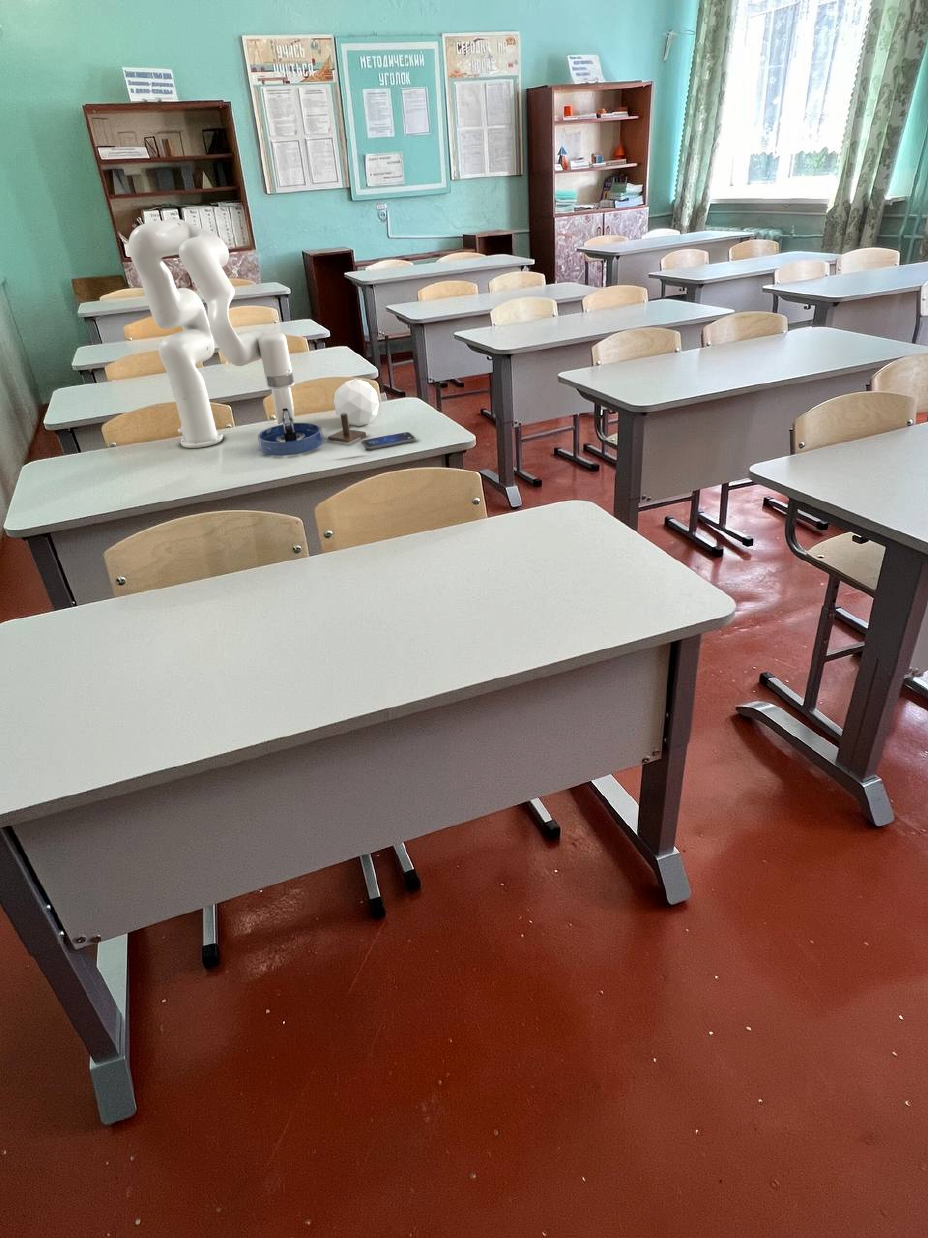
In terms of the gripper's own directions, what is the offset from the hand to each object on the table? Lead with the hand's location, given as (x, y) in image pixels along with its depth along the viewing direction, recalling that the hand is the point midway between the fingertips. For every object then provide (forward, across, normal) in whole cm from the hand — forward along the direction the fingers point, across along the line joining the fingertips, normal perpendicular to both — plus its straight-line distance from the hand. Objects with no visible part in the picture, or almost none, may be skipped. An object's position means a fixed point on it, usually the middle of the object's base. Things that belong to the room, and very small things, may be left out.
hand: (291, 442), depth 220 cm
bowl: (+2, -1, 0) cm, 2 cm away
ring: (+1, -4, 0) cm, 4 cm away
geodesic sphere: (+2, -15, +21) cm, 26 cm away
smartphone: (+2, +7, +27) cm, 28 cm away
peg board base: (+2, -2, +16) cm, 16 cm away
